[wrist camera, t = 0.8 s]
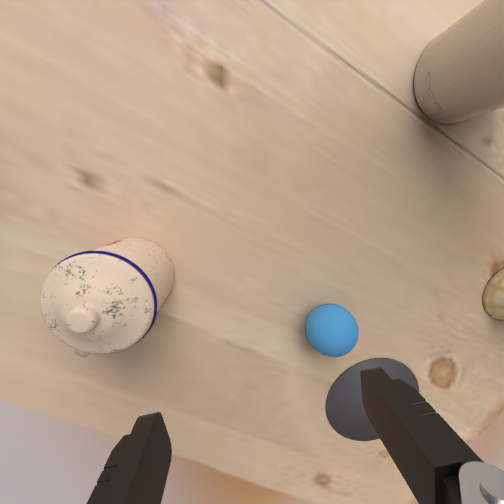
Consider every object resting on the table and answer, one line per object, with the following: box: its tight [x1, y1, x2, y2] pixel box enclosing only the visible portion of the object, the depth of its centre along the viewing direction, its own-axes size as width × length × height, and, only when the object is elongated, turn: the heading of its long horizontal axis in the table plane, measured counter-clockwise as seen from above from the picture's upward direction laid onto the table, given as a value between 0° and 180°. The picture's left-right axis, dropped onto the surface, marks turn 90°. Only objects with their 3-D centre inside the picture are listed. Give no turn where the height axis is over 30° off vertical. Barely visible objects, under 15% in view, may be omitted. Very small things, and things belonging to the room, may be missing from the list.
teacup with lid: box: [40, 238, 174, 357], centre depth 24 cm, size 12×9×12 cm
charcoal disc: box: [326, 358, 419, 441], centre depth 36 cm, size 14×14×1 cm
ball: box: [305, 304, 358, 357], centre depth 29 cm, size 6×6×6 cm
